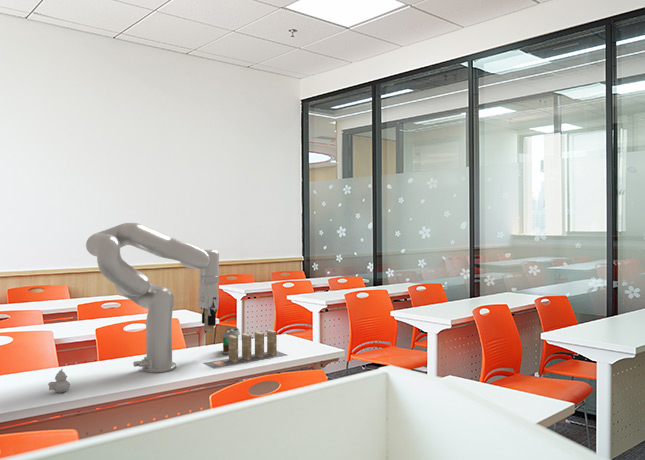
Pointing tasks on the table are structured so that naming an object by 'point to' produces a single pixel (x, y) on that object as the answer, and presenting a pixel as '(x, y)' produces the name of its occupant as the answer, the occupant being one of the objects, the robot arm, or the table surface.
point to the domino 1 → (206, 327)
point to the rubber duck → (59, 383)
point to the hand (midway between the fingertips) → (208, 323)
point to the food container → (226, 334)
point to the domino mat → (240, 360)
